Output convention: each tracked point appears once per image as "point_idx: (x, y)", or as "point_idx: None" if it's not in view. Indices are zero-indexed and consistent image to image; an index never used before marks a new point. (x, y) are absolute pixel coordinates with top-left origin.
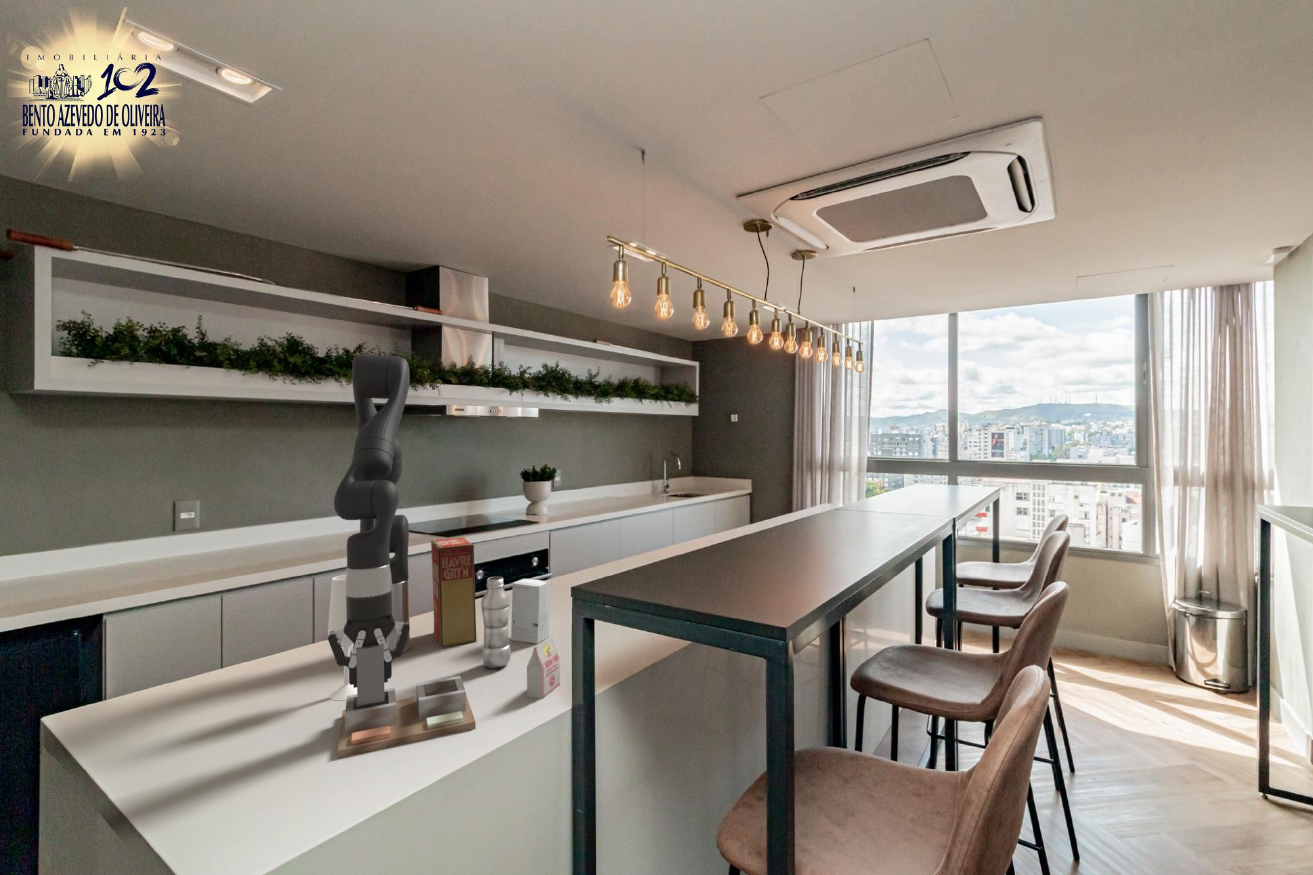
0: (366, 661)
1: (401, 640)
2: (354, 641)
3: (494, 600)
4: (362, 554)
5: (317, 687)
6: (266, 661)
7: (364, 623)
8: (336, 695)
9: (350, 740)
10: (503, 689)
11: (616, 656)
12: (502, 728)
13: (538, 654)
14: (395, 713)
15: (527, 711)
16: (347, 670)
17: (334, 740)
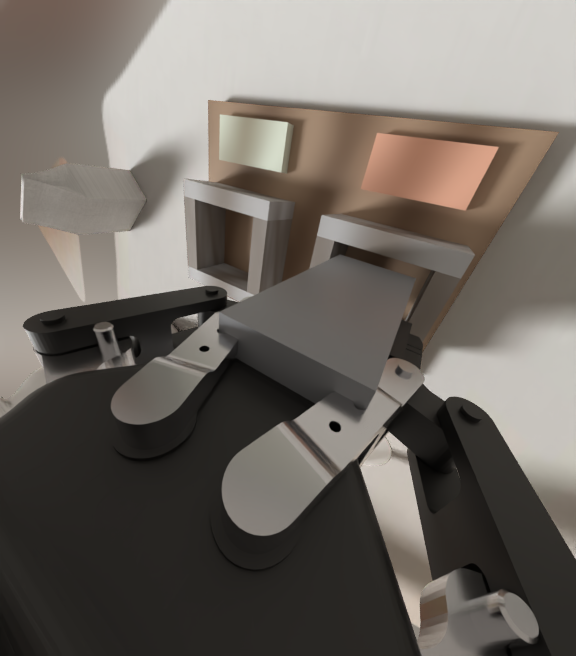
0: (342, 320)
1: (148, 306)
2: (354, 478)
3: (39, 382)
4: None
5: (389, 500)
6: (410, 617)
7: (154, 611)
8: (380, 448)
9: (478, 192)
10: (172, 252)
11: (71, 243)
12: (181, 66)
13: (40, 174)
14: (333, 214)
15: (146, 128)
16: None
17: (485, 272)
